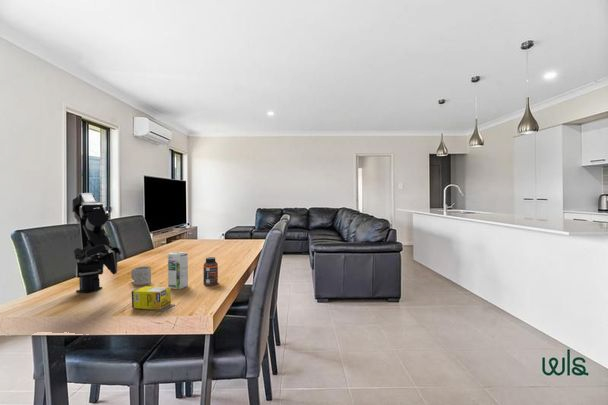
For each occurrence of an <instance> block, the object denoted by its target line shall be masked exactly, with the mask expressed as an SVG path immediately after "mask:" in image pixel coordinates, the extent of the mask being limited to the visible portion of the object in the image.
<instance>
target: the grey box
mask: <svg viewBox="0 0 608 405" xmlns="http://www.w3.org/2000/svg"><path fill="white" fill-rule="evenodd" d="M130 274H131V275H130V276H131V280H133V285H135V286H144V285H145V286H146V285H148V284H151V283H152V270H151V266H148V265H145V266H137V267H134V268H132V269H131V273H130Z"/></svg>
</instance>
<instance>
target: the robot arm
mask: <svg viewBox="0 0 608 405" xmlns="http://www.w3.org/2000/svg"><path fill="white" fill-rule="evenodd" d="M77 195H78V196H76V197H75V198H73V199H72V202H71V212H72V213H73V216H74V218H75V220H77V221H78V222H79V232H80V244H81V248H79V247H77V248H75V249H74V251H73V253H74V260H78V261H77V262H76V264H75V276H76V279H78V278H79V289H76V292H77V293H85V294H86V293H87V294H89V293H93V292H96V291H99V290H102V289H103V286H101V284H100V283H101V282H100V275H103V274H104V266H105V267H106V268H107V269H108V271H110V272H111V273H110V274H112V275H116V274H118V261H119V260H118V259H119V256H120V255H123V254H124V252H123V249H122V248H119V247H116V246H115V245H114V244H112V242H111V240H110V238H111V236H110V235H109V234H107V231H106V229H105V226H106V224H107V222H108V216H109V211H108V210H107V208H106V206H105V205H104V204H103V203H102V202H101V201H97V199H96V198H95V196H94V193H92V192H84V193H83V192H80V193H78V194H77ZM76 292H75V293H76Z"/></svg>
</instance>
